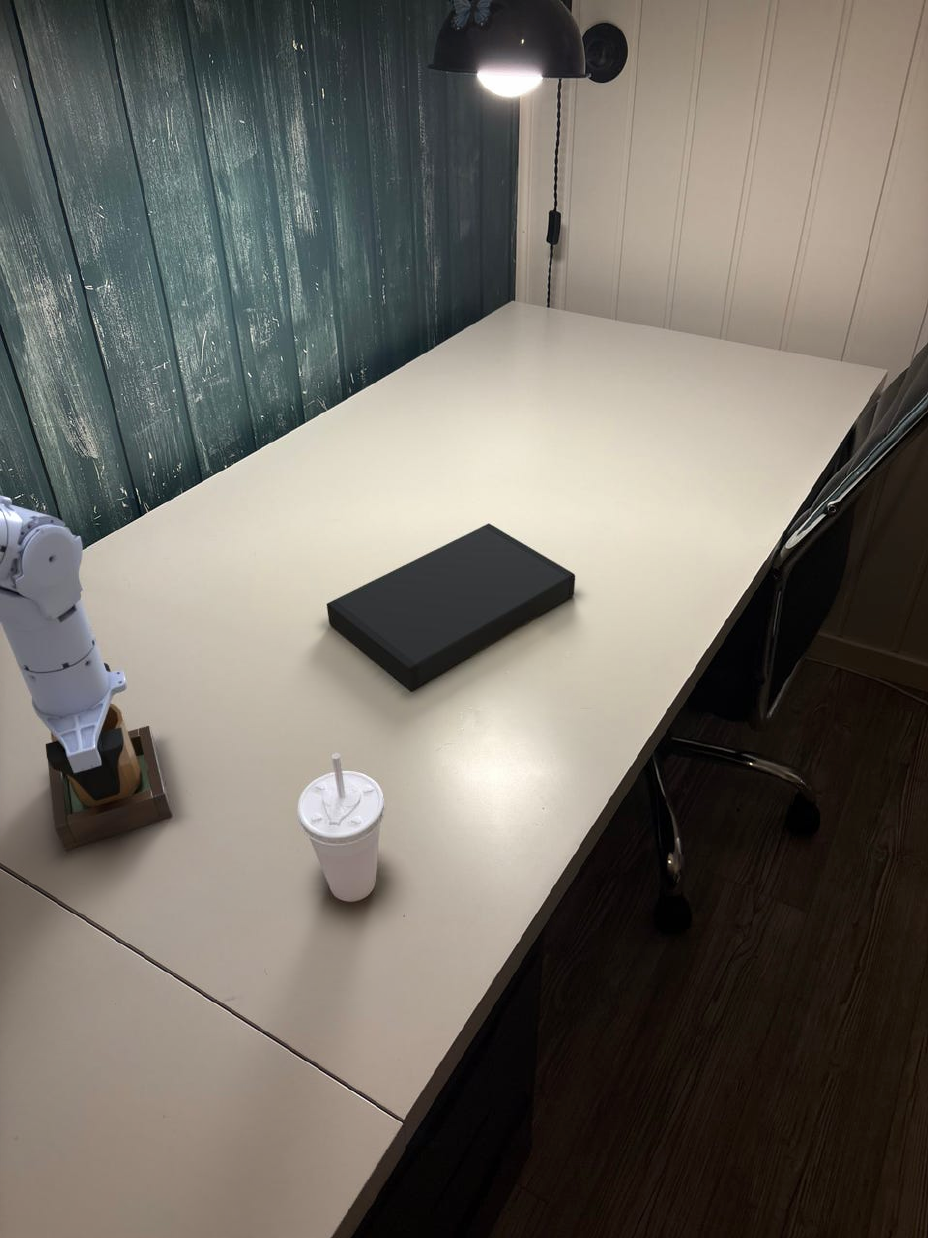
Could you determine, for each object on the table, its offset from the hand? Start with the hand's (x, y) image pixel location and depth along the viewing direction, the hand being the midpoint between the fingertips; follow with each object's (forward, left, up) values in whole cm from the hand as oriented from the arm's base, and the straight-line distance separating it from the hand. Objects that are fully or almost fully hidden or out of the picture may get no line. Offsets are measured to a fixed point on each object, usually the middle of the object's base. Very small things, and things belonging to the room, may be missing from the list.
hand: (102, 769), depth 78 cm
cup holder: (0, 0, -3) cm, 3 cm away
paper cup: (0, 0, -2) cm, 2 cm away
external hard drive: (+38, +12, -4) cm, 40 cm away
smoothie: (+17, -17, -4) cm, 24 cm away
